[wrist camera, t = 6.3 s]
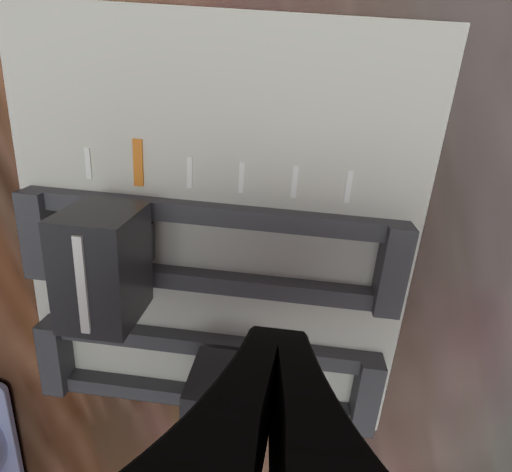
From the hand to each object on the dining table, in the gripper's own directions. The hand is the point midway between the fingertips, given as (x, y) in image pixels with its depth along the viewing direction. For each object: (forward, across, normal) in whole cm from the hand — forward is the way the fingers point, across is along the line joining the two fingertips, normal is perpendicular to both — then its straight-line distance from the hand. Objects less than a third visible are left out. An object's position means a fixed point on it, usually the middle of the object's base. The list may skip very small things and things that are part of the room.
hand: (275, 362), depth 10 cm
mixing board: (+8, +3, 0) cm, 9 cm away
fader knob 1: (+7, +6, 0) cm, 9 cm away
